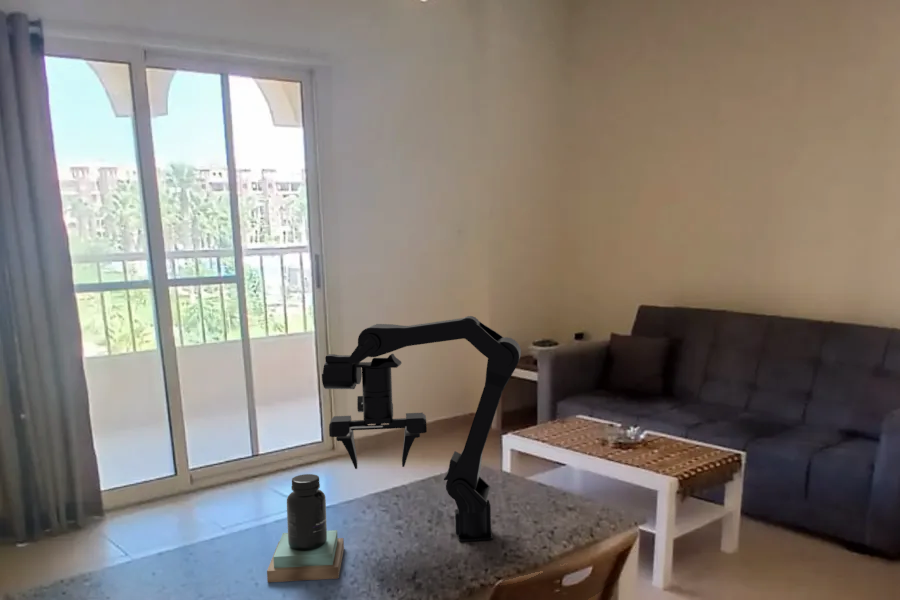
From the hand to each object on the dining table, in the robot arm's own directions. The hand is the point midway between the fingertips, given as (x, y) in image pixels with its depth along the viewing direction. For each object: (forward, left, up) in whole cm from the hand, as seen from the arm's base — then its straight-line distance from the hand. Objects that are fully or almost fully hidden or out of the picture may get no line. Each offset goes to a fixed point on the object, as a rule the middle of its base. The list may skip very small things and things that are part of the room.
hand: (379, 467), depth 141 cm
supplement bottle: (+13, +13, -9) cm, 21 cm away
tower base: (+13, +13, -13) cm, 23 cm away
